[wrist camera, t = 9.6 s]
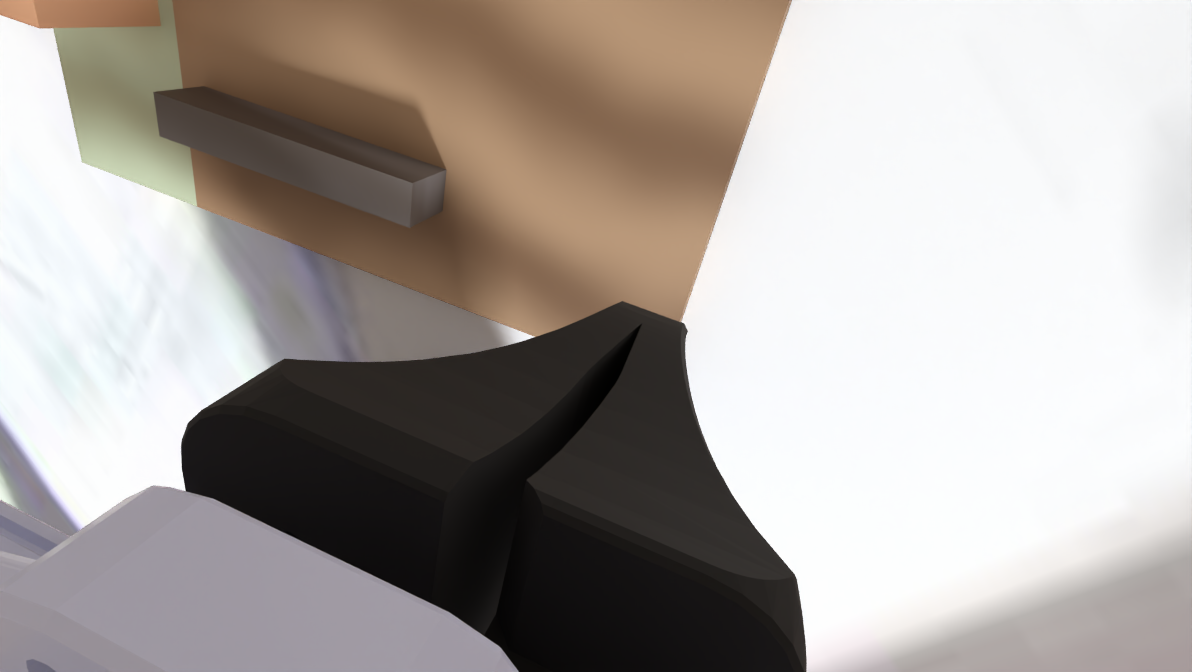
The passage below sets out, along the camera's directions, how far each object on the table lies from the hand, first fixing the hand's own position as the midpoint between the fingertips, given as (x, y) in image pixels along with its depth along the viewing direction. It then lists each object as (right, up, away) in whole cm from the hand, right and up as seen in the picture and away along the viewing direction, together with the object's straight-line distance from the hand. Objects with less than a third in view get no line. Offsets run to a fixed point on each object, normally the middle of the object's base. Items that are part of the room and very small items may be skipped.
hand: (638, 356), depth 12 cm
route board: (-8, +11, +9) cm, 16 cm away
